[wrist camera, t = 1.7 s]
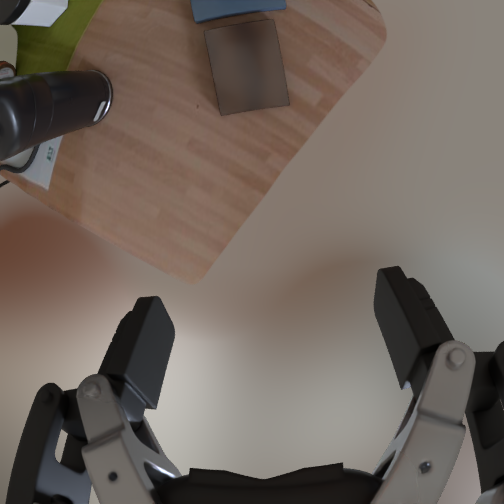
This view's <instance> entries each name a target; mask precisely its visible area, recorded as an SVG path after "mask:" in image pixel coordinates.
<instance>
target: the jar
mask: <svg viewBox="0 0 504 504" xmlns="http://www.w3.org/2000/svg"><path fill="white" fill-rule="evenodd" d="M67 6H68V0H0V25H9V24H15V25H35V26H46V27H50V26H51V25H52V24H53V23H54V22H55V21H56V19H57V18H58V17H59V16H60V15H61V14H62V13H63V12H64V11H65V10H66V9H67Z"/></svg>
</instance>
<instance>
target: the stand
mask: <svg viewBox="0 0 504 504" xmlns="http://www.w3.org/2000/svg"><path fill="white" fill-rule="evenodd" d="M190 1H191V6H192V11H193V16H194V21H195V22H196V23H197V24H198V23H202V22H206V21H211V20H215V19H220V18H225V17H230V16H235V15H241V14H248V13H254V12H262V11H271V10H281V9H286V3H285V0H190Z"/></svg>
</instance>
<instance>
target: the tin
mask: <svg viewBox="0 0 504 504" xmlns="http://www.w3.org/2000/svg"><path fill="white" fill-rule="evenodd" d="M12 76H16V71H15V68H14V66H13V65H11V64H9V63H8V62H6V61H0V79H2V78H7V77H12Z"/></svg>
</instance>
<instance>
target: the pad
mask: <svg viewBox="0 0 504 504" xmlns="http://www.w3.org/2000/svg"><path fill="white" fill-rule="evenodd" d="M204 35H205V40H206V45H207V50H208V54H209V59H210V64H211V69H212V74H213V79H214V84H215V89H216V94H217V99H218V104H219V109H220V114H221V116H223V115H229V114H234V113H240V112H246V111H252V110H258V109H265V108H272V107H280V106H289V105H290V103H289V97H288V91H287V85H286V79H285V73H284V68H283V62H282V57H281V52H280V47H279V42H278V37H277V32H276V27H275V22H274V19H270V20H262V21H254V22H248V23H241V24H236V25H230V26H225V27H220V28H215V29H211V30H207V31H204Z"/></svg>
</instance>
